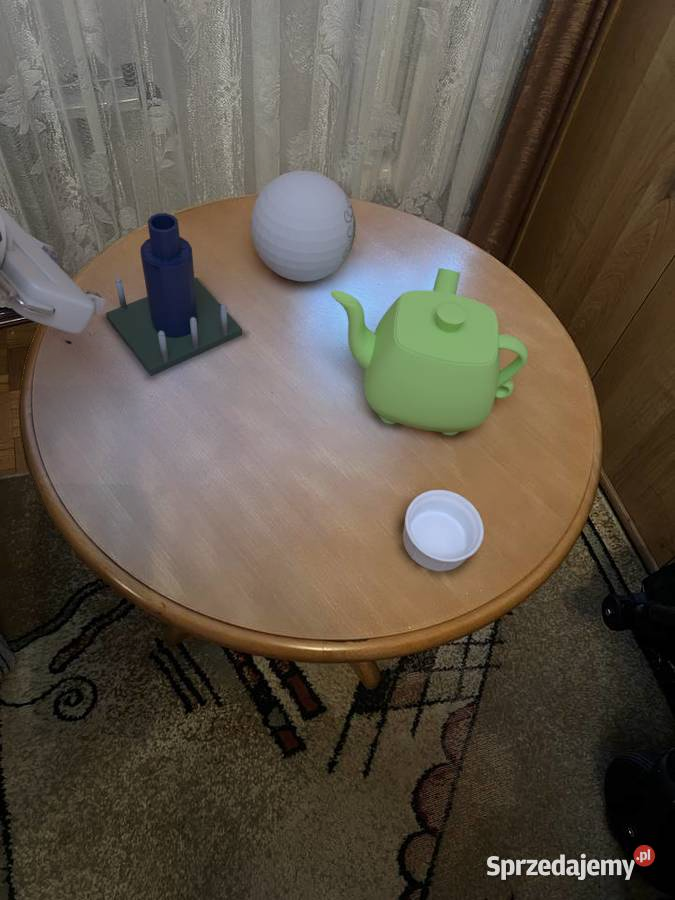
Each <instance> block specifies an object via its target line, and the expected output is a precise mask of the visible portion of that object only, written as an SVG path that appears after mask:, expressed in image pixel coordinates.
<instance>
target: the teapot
mask: <svg viewBox="0 0 675 900" xmlns="http://www.w3.org/2000/svg"><path fill="white" fill-rule="evenodd" d="M436 273H437V274H436V276H435V277H436V278H435V280H434V285H433V288H432V290H423V289H419V290H418V289H415V290H407V291H405V292H403V293H401V295H399V296H398V297H397V298H396V299H395V301H394V302H393V303H391V305H390V307H388V309H387V310H386V312H385V313H384V314H383V315H382V317H381V319H380V320H379V322H378V324H377V326H376V328H375V331H372V330H370V328H368V327H367V325H366V322H365V311H364V308H363V306H362V304H361V302H360V301H359V300H358V299H357V298H356V297H355V296H353V295H352V294H349V293H347V292H345V291H341V290H335V289H334V290H331V291H330V296H331V297H332V298H333V299H334V300H335V301H336V302H338V304H340V306H342V308H343V309H344V311H345V312H346V316H347V323H348V325H347V326H348V327H347V340H348V342H347V343H348V348H349V351H350V353H351V355H352V357H353V359H354V360H355V361H356V363H357V364H359V366H361V367H362V368H363V369H364V374H363V387H364V390H363V392H364V395H365V398H366V401H367V403H368V405H369V406H370V408H371V409H372V411H374V412H375V413H376V414H378V417H379V418H380V420H381V421H383V423H385V424H389V425H396V424H400V425H403V426H406V427H409V428H413V429H417V430H421V431H429V432H440V433H442V434H443V435H446V436H455V435H457V434H458V433H459V432H465V431H470V430H472V429H475V428H476V427H479V426H480V425H482V424H483V423H484V422H485V421H487V419H488V417H489V416H490V413H491V412H492V409H493V406H494V404H495V400H496V399H507V398H508V397H510V396H511V395H512V393H513V392H514V390H515V389H514V388H515V384H514V381H513V380H512V378H514V377H515V376H517V374H519V373H520V372H521V371H522V370H523V369H524V367H525V366H526V364H527V362H528V359H529V353H528V352H529V351H528V348H527V345H526V344H525V343H524V342H523V341H522V340H521V339H519V338H518V337H516V336H514V335H511V334H506V333H505V334H503V333H500V331H499V320H498V317H497V313H496V311H495V310H494V309H493V308H492V307H490V306H488V305H487V304H485V303H483V302H480V301H479V300H475V299H473V298H470V297H465V296H462V295H458V294H457V290H458V287H459V286H458V285H459V281H460V276H461V272H460V271H456V270H452V269H447V268H441V267H439V268H438V270H437V272H436ZM501 350H507V351H511V352H513V353H515V354H516V355H517V356H516V357H515V359H513V360H512V362H510V363H509V364H508V365H506V366H504V367H503V368H502V369H500V367H501Z"/></svg>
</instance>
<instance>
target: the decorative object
mask: <svg viewBox="0 0 675 900" xmlns="http://www.w3.org/2000/svg"><path fill="white" fill-rule="evenodd" d="M355 216H356V215H355V211H354V208H353V205H352V202H351V201H350V199H349V197H348V195H347V194H346V192H345V191H344V190H343V189H342V188H341V186H340V185H339V184H338V183H337V182H336V181H334V180H333V179H331V178H329V177H328V176H326V175H324V174H322V173H319V172H316V171H312V170H305V169H304V170H302V169H301V170H299V169H298V170H292V171H289V172H286V173H283V174H281V175H279V176H276V177H275V178H274V179H272V180H271V181H270V182H269V183H268V184H266V185H265V186H264V188H263V189H262V190H261V191H260V193H259V195H257V198H256V200H255V202H254V204H253V208H252V210H251V218H250V234H251V235H250V236H251V238H252V243H253V246H254V248H255V251H256V252H257V255H258V256H259V258H260V259H261V260H262V262H263V263H264V264H265V265H266V266H267V268H269V269H270V270H271V271H273V272H274V273H275V274H277V275H279V276H280V277H282V278H285V279H288V280H291V281H296V282H313V281H317V280H320V279H323V278H325V277H327V276H329V275H331V274H332V273H334V272H335V271H336V270H338V269H339V267H341V266H342V265H343V263H344V262H345V261H346V259H347V258H348V256H349V254H350V252H351V251H352V249H353V245H354V242H355V238H356V217H355Z"/></svg>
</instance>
